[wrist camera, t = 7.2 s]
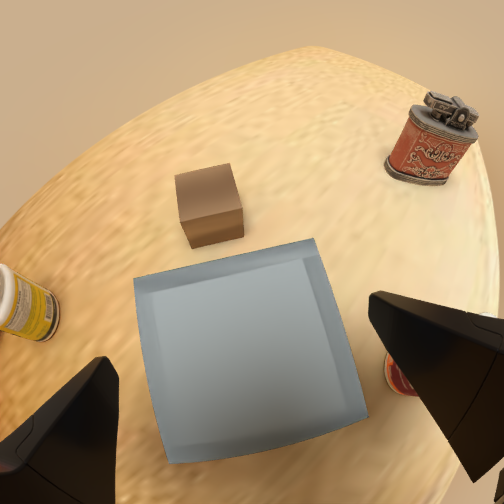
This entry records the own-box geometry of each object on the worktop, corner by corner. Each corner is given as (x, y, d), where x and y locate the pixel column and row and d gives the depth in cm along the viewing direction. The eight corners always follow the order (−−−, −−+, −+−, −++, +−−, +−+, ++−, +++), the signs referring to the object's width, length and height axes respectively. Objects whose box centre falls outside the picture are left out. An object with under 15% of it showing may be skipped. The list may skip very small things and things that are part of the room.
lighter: (438, 165, 25) (478, 101, 16) (449, 189, 23) (496, 125, 14) (380, 156, 25) (414, 77, 16) (389, 181, 23) (432, 100, 14)
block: (244, 237, 21) (242, 207, 17) (192, 249, 21) (180, 222, 17) (233, 195, 23) (229, 163, 19) (185, 206, 22) (174, 175, 18)
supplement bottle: (19, 318, 18) (-46, 288, 10) (43, 279, 19) (-19, 237, 12) (43, 354, 17) (-31, 333, 9) (69, 312, 18) (-3, 275, 10)
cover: (307, 394, 16) (368, 416, 6) (214, 416, 15) (168, 463, 6) (283, 308, 18) (313, 237, 9) (194, 328, 17) (133, 278, 8)
